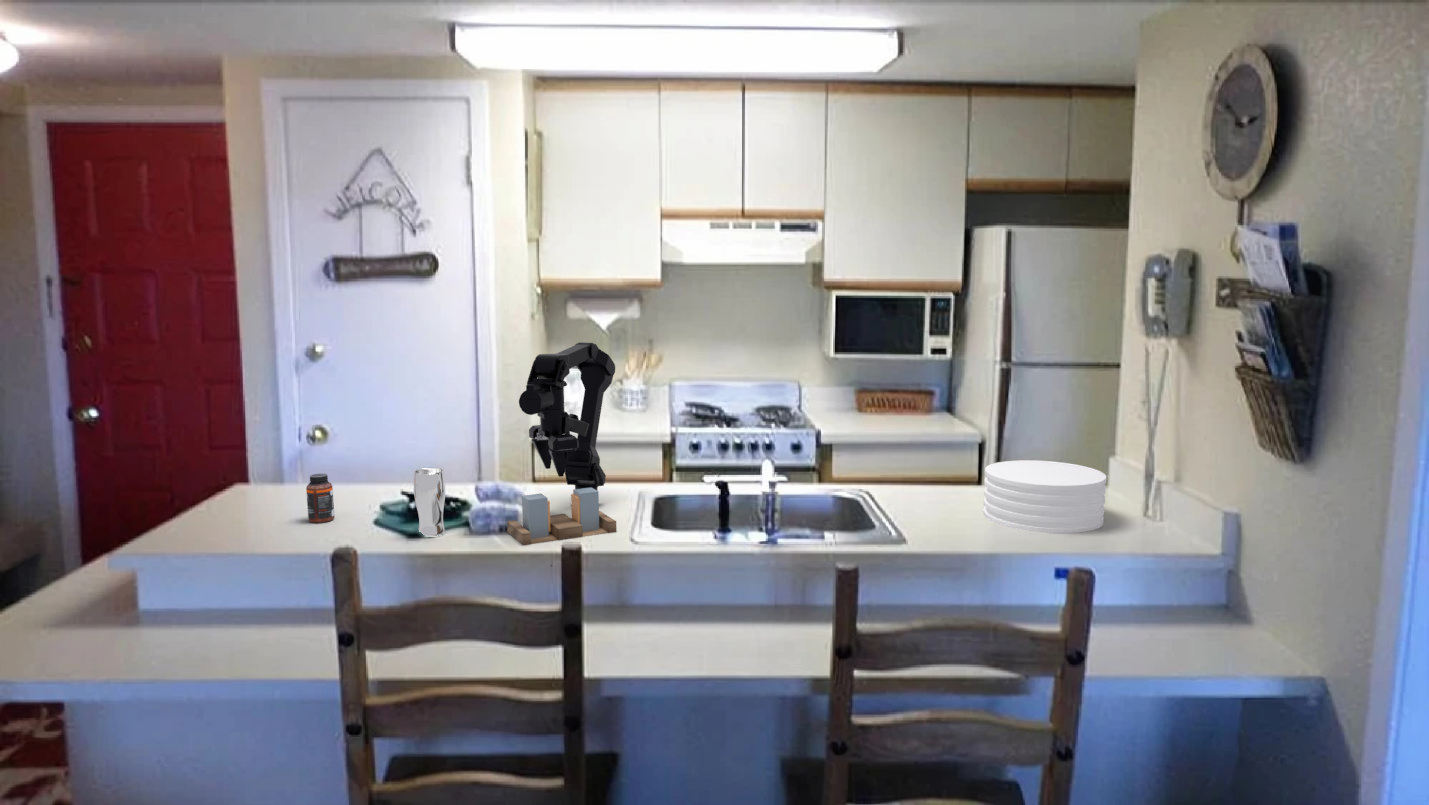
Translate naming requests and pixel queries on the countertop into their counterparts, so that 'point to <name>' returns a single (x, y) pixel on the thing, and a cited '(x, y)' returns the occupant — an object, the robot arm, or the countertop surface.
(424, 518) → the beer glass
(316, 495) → the supplement bottle
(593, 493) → the block
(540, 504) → the block
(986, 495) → the plate stack
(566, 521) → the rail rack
